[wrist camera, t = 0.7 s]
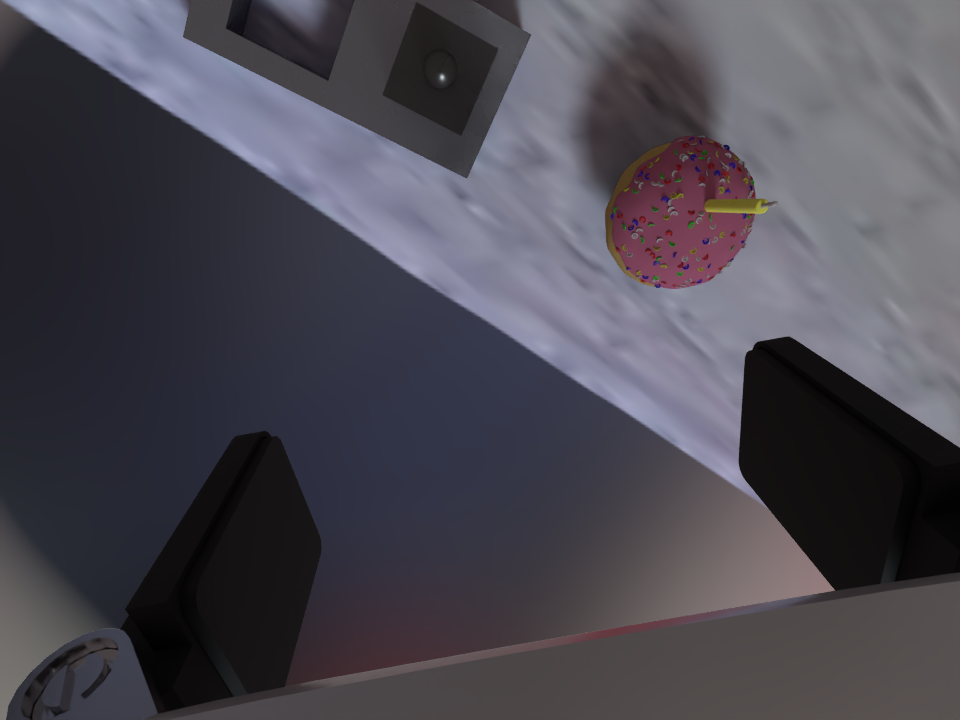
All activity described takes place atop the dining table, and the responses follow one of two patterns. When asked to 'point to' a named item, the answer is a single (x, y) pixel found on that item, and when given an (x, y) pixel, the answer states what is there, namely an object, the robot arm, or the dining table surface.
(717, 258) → the cupcake
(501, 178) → the dining table surface
